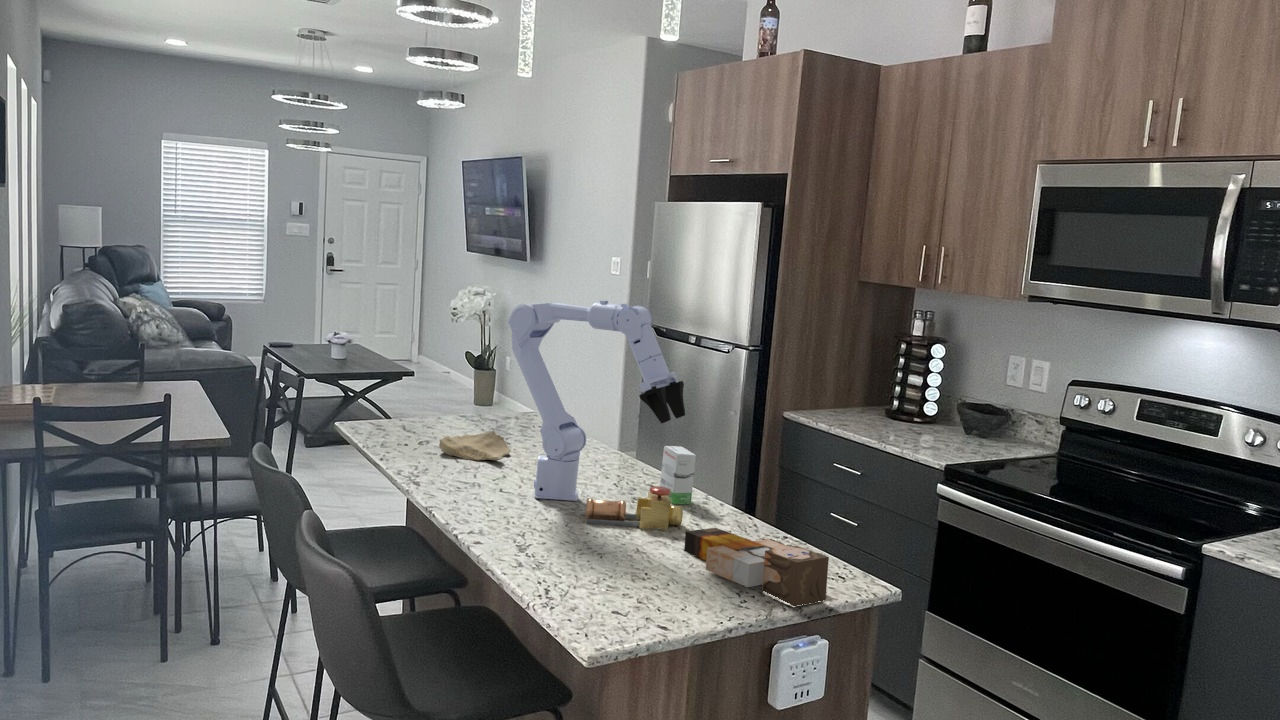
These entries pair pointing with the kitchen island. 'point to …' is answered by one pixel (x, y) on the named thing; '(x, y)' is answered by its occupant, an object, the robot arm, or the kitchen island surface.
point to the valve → (658, 510)
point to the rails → (615, 521)
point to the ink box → (678, 473)
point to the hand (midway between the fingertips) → (673, 419)
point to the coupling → (605, 509)
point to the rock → (476, 446)
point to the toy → (762, 564)
